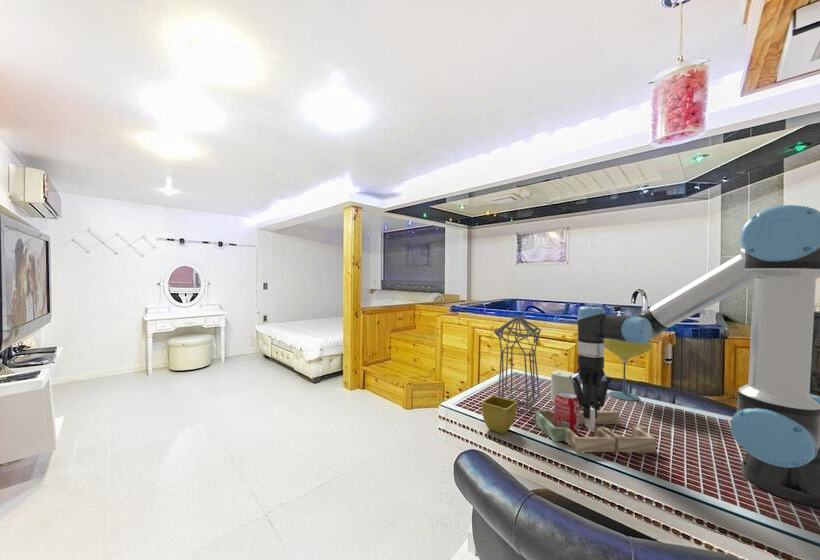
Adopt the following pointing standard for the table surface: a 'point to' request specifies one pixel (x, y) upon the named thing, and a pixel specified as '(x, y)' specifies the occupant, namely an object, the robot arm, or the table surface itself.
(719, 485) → the table surface
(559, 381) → the can
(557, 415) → the soda can
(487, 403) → the flower pot
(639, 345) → the cocktail glass
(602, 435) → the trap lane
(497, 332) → the geometric lantern
